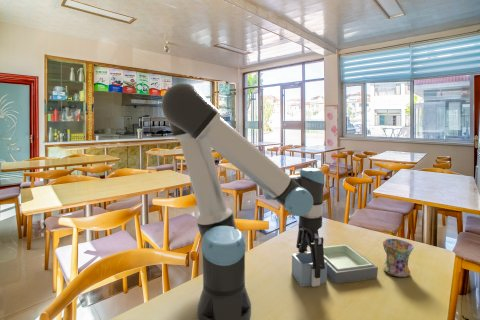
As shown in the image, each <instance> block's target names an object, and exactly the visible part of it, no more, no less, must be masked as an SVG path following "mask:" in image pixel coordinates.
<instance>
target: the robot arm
mask: <svg viewBox="0 0 480 320" xmlns="http://www.w3.org/2000/svg"><path fill="white" fill-rule="evenodd" d="M161 110H162V112H163V116H164V118H165V119H167V121H168V123H169V127H170V130H171V133H172V137H173V138H174V139H176V140H178V142H180V143H179V144H180V147H181V150H182V154H183V157H184V162H185V165H186V168H187V172H188V176H189V180H190V184H191V187H192V191H193V194H194V198H195V201H196V206H197V208H198V209H197V210H198V213H199V215H198V217H197V218H196V223H197V227H198V231H199V234H200V235H199V236H200V239H201V252H202V253H201V254H202V255H201V256H202V284H203V285H202V286H203V287H202V290H201V293H200V297H199V300H198V303H197V317H198V318H197V319H198V320H250V318H251V315H252V303H251V299H250V297H249V294H248V291H247V288H246V285H245V284H246V276H245V275H246V272H245V271H246V264H245V263H246V262H245V261H246V241H245V237H244V234H243V233H242V231H241V230H239V229H238V228H237V225H236V222H235V218H234V214H233V210H232V209H231V208H229V207H227V206H226V201H225V198H224V193H223V189H222V186H221V181H220V178H219V174H218V170H217V166H216V162H215V159H214V154H213V151H212V149H213V150H214V151H215V152H216V153H218V154H219V155H220V156H221V157H223V158H224V159H225V160H226V161H228V162H229V163H230V164H231V165H232V166H233V167H235V168H236V169H237V170H238V171H239V172H241V173H242V174H244V175H245V176H246V177H247V178H249V179H250V181H252V182H253V183H254V184H256V185H257V186H258V187H260V189H262V190H263V195H264V198H265V199H266V200H268V201H269V200H270V201H271V200H272V201H276V202H277V203H279V204H280V205H281V206H283V208H285V210H286V211H287V212H288V213H289V214H291V215H293V216H295V217H298V231H297V239H296V249H297V250H298V253H306V252H308V247H309V249H310V252H311V256H312V262H313V267H311V268H312V277H311V285H310V286H311V287H313V288H314V287H320V286H321V284H320V270H321V269H325V263H324V250H323V247H324V240H325V239H324V237H321V236H319V229H322V227H323V216H322V215H323V207H324V204H323V203H324V184H325V180H324V179H325V176H324V171H323V170H322V169H321V168H318V167H303V168H301V169H300V171H299V174H295V175H294V174H293V175H289V174H287V173H286V172H285V171H284V170H283V169H281V167H279V165H277V164H276V163H275V162H274V161H272V160H271V159H270V158H269V157H268V156H266V154H265V153H263V152H262V151H261V150H260V149H259V148H257V147H256V146H255V145H254V144H253V143H251V142H250V141H249V140H248V139H247V138H245V137H244V136H243V135H242V134H241V133H240V132H238V131H237V130H236V129H235V128H234V127H233V126H232V125H230V124H229V123H228V122H227V121H225V119H223V118H222V117H221V113H220V110H219V109H218V108H216V106H214V105H213V104H212V103H211V102H210V101H209V100H208V99H207V97H205V95H204V94H203V93H202V91H201V90H199V89H198V88H197V87H196V86H194V85H192V84H190V83H177V84H173V85H172V86H171V87H169V88H168V89H167V90H166V91H165V93H164V94H163V97H162V100H161Z"/></svg>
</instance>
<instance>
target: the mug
mask: <svg viewBox="0 0 480 320" xmlns="http://www.w3.org/2000/svg"><path fill="white" fill-rule="evenodd" d="M382 245H383V250H384V251H385V254H386V260H385V262H384V264H383V265H382V269H383V271H384V272H386V273H387V274H389V275H391V276H394V277H399V278H406V277H408V276H410V274H411V271H410V269H409V257H410V255H411V254H412V251H413V250H414V245H413V244H412V243H410V242H409V241H406V240H403V239H398V238H386V239H384V240H383V242H382Z"/></svg>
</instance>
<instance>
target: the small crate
mask: <svg viewBox="0 0 480 320" xmlns="http://www.w3.org/2000/svg"><path fill="white" fill-rule="evenodd" d="M324 263H325V269H321V270H320V285H321V284H322V285H323V284H326V283H327V277H328V275H327V262H326V261H325V260H324ZM311 267H313V262H312V256H311V251H306V253H300V252H298V253H292V255H291V275H292V276H293V278H295V280H296V282H297V283H298V285H299V286H300V287H308V286H311V277H312V268H311Z"/></svg>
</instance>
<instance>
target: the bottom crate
mask: <svg viewBox="0 0 480 320" xmlns="http://www.w3.org/2000/svg"><path fill="white" fill-rule="evenodd" d="M337 245H338V244H336V245H334V246H337ZM343 245H347V246H348V247H350V248H351V249H352V250H354V251H355V252H356V253H358V254H359V255H360V256H362V257H363V258H364V259H366V260H367V261H368V262H370V263H371V264H372V267H366V268H358V269H351V270H343V271H336V270H335V269H334V268H333V267H332V266H331V265H330V264H329V263H328V262H327V261H326V260H325V259H324V260H325V261H326V262H327V277H329V279H330V280H331V281H332V282H333V283H334V284H335V285H339V284H346V283H352V282H353V283H354V282H360V281H367V280H374V279H375V280H376V279H377V278H378V273H379V272H378V269H379V268H378V265H376V264H374V263H373V262H372V261H370V260H369V259H368V258H366V256H365V257H364V255H362V254H360V253H359V252H358V251H356V250H355V249H354V248H353V247H351V246H350V245H348V244H346V243H345V244H343ZM328 246H329V245H328ZM328 246H324V247H328Z"/></svg>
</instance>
